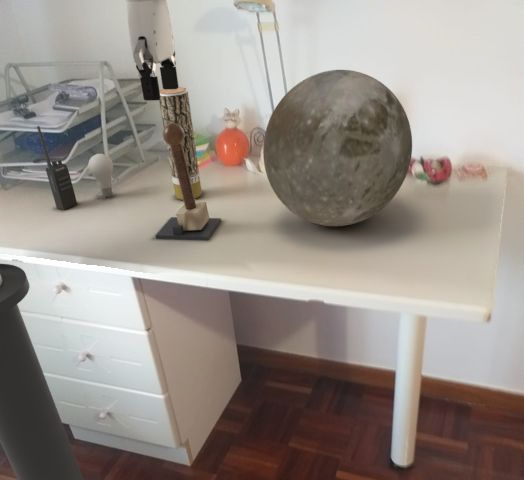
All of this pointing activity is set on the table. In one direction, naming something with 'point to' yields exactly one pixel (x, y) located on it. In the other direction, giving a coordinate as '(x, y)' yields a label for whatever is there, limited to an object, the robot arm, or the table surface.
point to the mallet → (185, 182)
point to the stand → (176, 231)
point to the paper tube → (178, 111)
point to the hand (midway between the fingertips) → (161, 94)
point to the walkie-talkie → (59, 181)
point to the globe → (337, 148)
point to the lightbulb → (102, 172)
